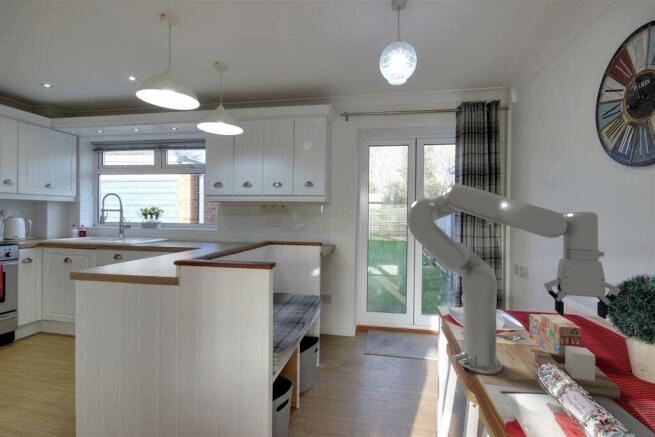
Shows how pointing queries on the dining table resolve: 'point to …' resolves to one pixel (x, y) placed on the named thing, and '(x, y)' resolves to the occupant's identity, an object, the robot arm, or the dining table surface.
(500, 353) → the dining table surface
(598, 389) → the walnut puzzle board
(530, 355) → the dining table surface
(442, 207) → the robot arm
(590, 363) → the cream block
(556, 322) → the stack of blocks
